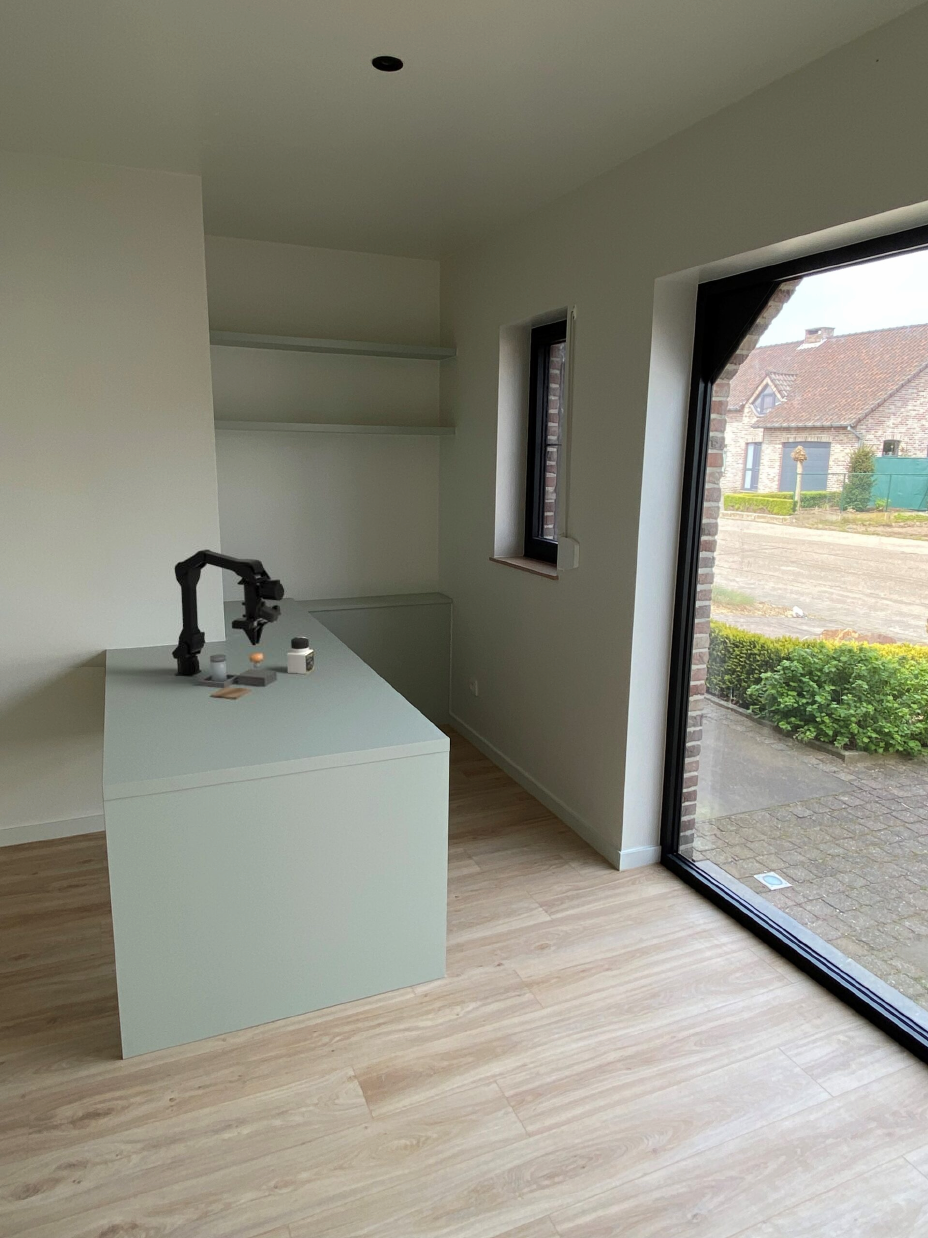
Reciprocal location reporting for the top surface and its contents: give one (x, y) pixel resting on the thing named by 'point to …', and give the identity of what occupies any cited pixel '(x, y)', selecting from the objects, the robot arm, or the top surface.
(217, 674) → the cylinder
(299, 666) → the medicine bottle
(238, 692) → the walnut pad
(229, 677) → the collar
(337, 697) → the top surface
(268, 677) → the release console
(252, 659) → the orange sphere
